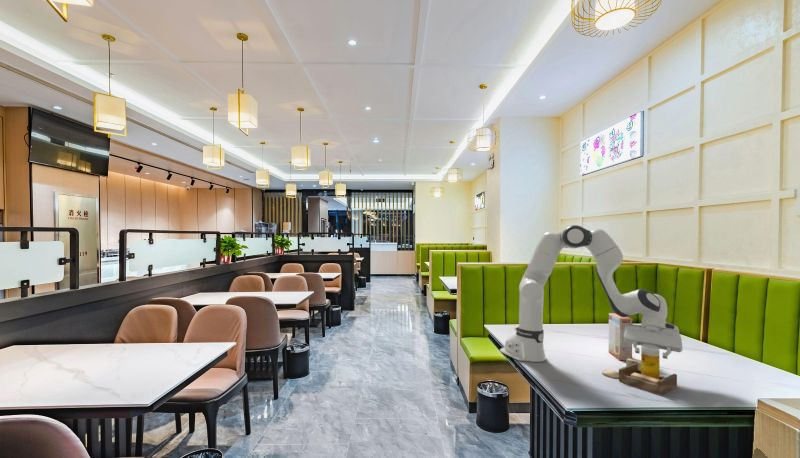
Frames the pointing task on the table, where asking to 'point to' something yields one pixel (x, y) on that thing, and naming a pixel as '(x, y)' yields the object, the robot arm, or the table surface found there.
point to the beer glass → (650, 361)
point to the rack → (663, 384)
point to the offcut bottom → (645, 378)
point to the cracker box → (619, 337)
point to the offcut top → (632, 361)
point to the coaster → (611, 374)
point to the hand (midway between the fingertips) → (650, 355)
